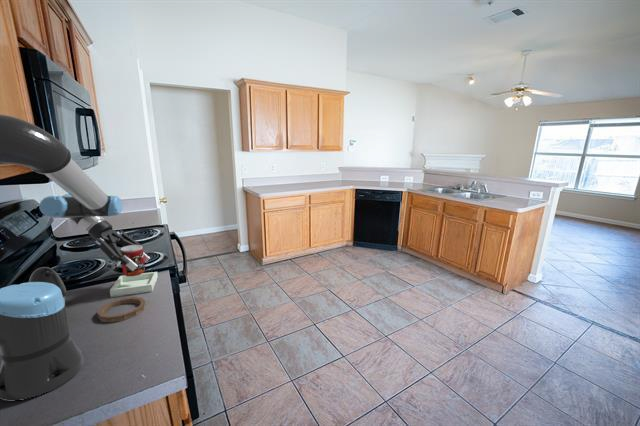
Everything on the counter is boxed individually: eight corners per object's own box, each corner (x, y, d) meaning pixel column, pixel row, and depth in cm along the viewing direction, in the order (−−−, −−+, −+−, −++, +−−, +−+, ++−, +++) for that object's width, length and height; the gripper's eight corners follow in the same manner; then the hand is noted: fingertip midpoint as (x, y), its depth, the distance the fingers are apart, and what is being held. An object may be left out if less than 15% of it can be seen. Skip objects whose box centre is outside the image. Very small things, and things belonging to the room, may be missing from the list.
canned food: (127, 278, 109) (124, 252, 107) (120, 273, 114) (116, 247, 112) (148, 272, 115) (145, 247, 113) (140, 267, 120) (138, 243, 118)
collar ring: (140, 317, 94) (140, 312, 94) (92, 325, 89) (91, 320, 89) (148, 299, 106) (148, 294, 106) (106, 305, 101) (105, 300, 101)
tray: (152, 291, 112) (151, 284, 111) (110, 297, 107) (109, 290, 106) (157, 277, 125) (157, 271, 124) (120, 282, 119) (120, 276, 119)
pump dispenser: (39, 317, 93) (31, 275, 90) (22, 311, 96) (13, 270, 93) (75, 303, 102) (68, 264, 99) (58, 298, 106) (51, 260, 103)
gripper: (109, 226, 121) (150, 260, 125) (68, 240, 100) (119, 281, 104) (119, 214, 120) (161, 249, 124) (81, 226, 100) (131, 268, 103)
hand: (141, 264), depth 114 cm, fingers closed on canned food, 8 cm apart
